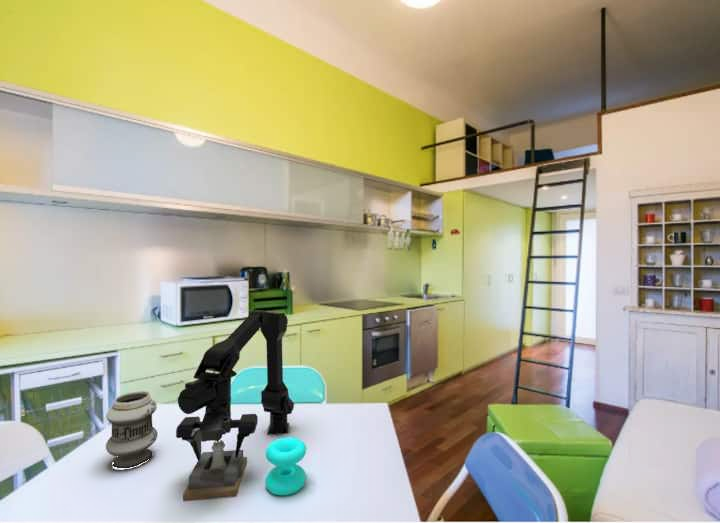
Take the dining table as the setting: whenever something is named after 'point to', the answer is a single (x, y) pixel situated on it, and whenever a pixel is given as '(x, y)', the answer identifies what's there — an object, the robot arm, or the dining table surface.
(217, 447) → the rook chess piece
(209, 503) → the dining table surface
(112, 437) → the apothecary jar
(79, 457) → the dining table surface
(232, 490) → the socket board
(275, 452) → the donuts
